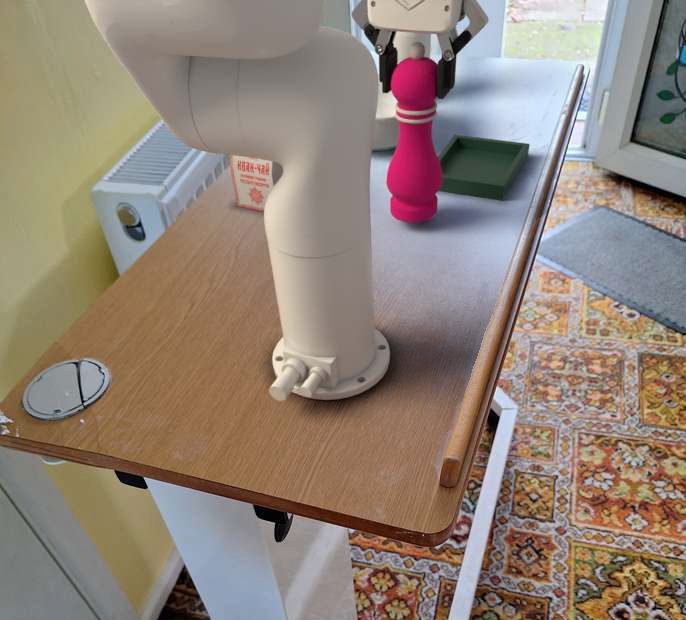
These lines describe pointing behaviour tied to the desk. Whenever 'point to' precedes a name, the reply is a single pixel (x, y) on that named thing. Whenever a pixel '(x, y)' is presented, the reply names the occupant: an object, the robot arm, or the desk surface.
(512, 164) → the tray
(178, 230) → the desk surface
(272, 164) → the printed tea carton
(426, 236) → the desk surface
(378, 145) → the cereal bowl
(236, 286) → the desk surface
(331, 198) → the robot arm
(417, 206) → the pepper mill
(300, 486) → the desk surface
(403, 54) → the pill bottle
